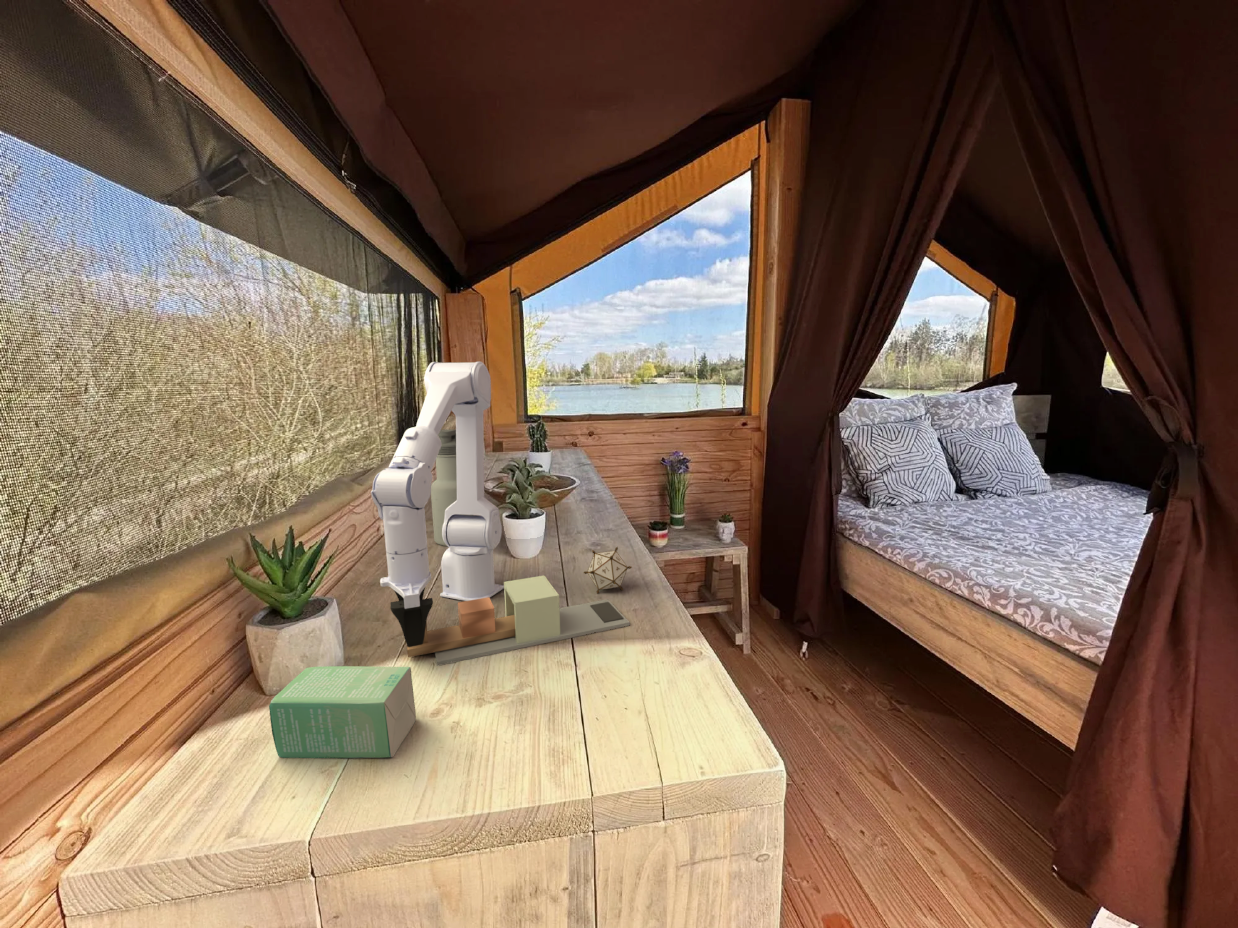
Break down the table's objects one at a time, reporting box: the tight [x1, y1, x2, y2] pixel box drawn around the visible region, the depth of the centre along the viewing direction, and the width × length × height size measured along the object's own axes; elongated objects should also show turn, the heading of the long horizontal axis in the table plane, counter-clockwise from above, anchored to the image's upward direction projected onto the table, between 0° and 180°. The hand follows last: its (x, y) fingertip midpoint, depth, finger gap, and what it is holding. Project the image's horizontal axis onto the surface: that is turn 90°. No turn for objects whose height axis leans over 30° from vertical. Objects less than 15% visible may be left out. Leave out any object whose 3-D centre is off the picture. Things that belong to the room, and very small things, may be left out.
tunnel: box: [503, 575, 561, 644], centre depth 90 cm, size 7×9×7 cm
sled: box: [406, 597, 516, 658], centre depth 86 cm, size 21×5×6 cm, turn 113°
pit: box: [590, 602, 623, 623], centre depth 95 cm, size 4×7×1 cm, turn 23°
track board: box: [434, 599, 631, 666], centre depth 90 cm, size 31×10×1 cm, turn 113°
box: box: [268, 665, 417, 759], centre depth 64 cm, size 7×14×8 cm, turn 88°
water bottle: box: [430, 428, 464, 547], centre depth 135 cm, size 10×10×28 cm
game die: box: [583, 546, 633, 594], centre depth 106 cm, size 9×8×10 cm
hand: (414, 632), depth 83 cm, fingers open, 7 cm apart
